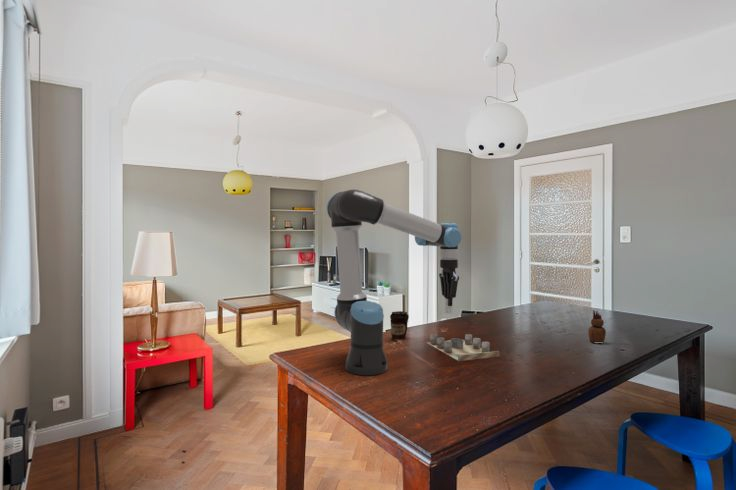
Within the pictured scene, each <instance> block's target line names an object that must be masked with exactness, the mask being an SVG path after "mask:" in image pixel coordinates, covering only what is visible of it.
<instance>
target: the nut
mask: <svg viewBox="0 0 736 490" xmlns="http://www.w3.org/2000/svg"><path fill="white" fill-rule="evenodd" d="M450 340H451V342H452V348H455V349H462V348H463V340H464V339H463V338H457V337H456V338H455V337H454V338H450Z"/></svg>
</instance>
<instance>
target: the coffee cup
mask: <svg viewBox="0 0 736 490" xmlns="http://www.w3.org/2000/svg"><path fill="white" fill-rule="evenodd" d="M389 316H390V317H389V318H390V331H391V334H390V335H391V341H392V342H395V343H399V341H398V340H403V339H406V338H407V331H408V320H409V314H408V312H407V311H404V310H403V311H401V310H399V311H392V312H391V314H390V315H389Z"/></svg>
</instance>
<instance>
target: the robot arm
mask: <svg viewBox="0 0 736 490" xmlns="http://www.w3.org/2000/svg"><path fill="white" fill-rule="evenodd" d="M326 212H327V216H328V217H329V219H330V221H331V229H333V230H334V231H335V235H336V249H337V250H336V251H337V262H338V263H337V265H338V266H337V267H338V277H339V279H338V281H339V289H340V290H339V294H338V295H337V297H336V305H335V307H334V311H333V312H334V318H335V321H336V322H337V324H338V325H339V326H340V328H343V329H345V331H348V333H349V332H350V348H349V351H348V354H347V357H346V360H345V370H346V371H347V372H349V373H350V374H353V375H359V376H375V375H381V374H383V373H385V372H386V371H387V370H388V359H387V356H386V353H385V350H384V348H383V347H384V344H383V343H384V318H385V316H384V315H385V314H384V308H383V307H382V305H381V304H380V303H377V302H375V301H369V300H367V299H368V298H367V294H366V293H365V292H364V291H363V286H362V283H363V282H362V281H363V280H362V267H361V254H360V253H361V252H360V237H359V230H360V229H361V228H362V227H363V226H362V222H363V223H368V224H371V225H373V226H374V225H376V224H380V225H382V226H385V227H388V228H391V229H393V230H397V231H400V232H402V233H406V234H408V235H410V236H414V241H415V244H416V245H418V246H423V247H427V246H431V247H440V248H439V250H440V251H439V258H440V260H439V263H440V264H439V266H440V268H441V269H442V270H441V271H442V272H441V273H439V274H438V275H439V280H440V288H441V289H440V290H441V295H442V296H443V297H444V313H445V314H448V315H449V314H453V299H454V298H456V297H457V291H458V285H459V280H460V276H459V275H457V274H456V273H457V272H456V269H458V267H459V260H458V257H459V245H460V243H461V241H462V233H461V231H460V230H459V226H458V224H457V223H455V222H447V223H446V222H441V223H440V224H439V223H438V222H435V221H432V220H429V219H426V218H425V217H422V216H419V215H416V214H414V213H411V212H408V211H406V210H403V209H401V208H398V207H395V206H394V205H393V206H392V205H390V204H387V203H385V200H384V199H381V198H380V197H377V196H375V195H372V194H369V193H367V192H365V191H363V190H359V189H347V190H344V191H339V192H337V193H335V194H333V195H332V196H331V197H330V198H329V200H328V201H327V203H326Z"/></svg>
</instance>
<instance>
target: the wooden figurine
mask: <svg viewBox="0 0 736 490" xmlns="http://www.w3.org/2000/svg"><path fill="white" fill-rule="evenodd" d="M604 323H605V322H604V320H603V319H602V315H601V314H600V313H599V312H598V311H597V310H596V311H595V309H593V312H592V319H591V321H590V327H589V328H588V329H587V330H588V333H587V334H588V338H589V341H590V342H591V341H592V342H603V343H604V342H605V340H606V336H607V335H606V334H607V330H606V329H605V327H603V326H604ZM592 342H591V343H592Z"/></svg>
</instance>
